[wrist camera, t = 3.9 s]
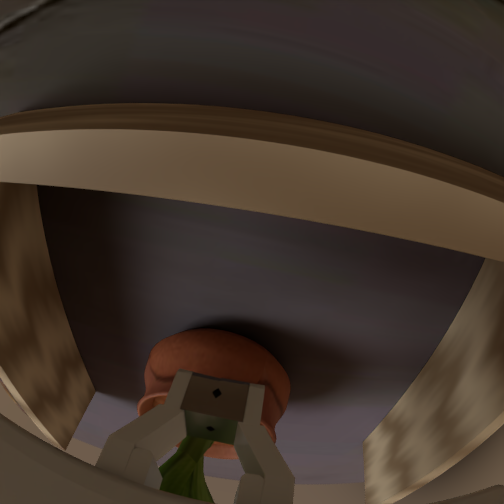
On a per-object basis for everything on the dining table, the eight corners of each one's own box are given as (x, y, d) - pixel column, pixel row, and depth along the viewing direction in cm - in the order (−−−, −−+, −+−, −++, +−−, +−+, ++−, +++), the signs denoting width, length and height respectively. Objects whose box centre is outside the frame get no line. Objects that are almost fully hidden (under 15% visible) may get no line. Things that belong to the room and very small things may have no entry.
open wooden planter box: (17, 112, 14) (-84, 149, 7) (528, 189, 12) (618, 259, 5) (84, 387, 27) (53, 444, 20) (375, 442, 25) (379, 509, 19)
